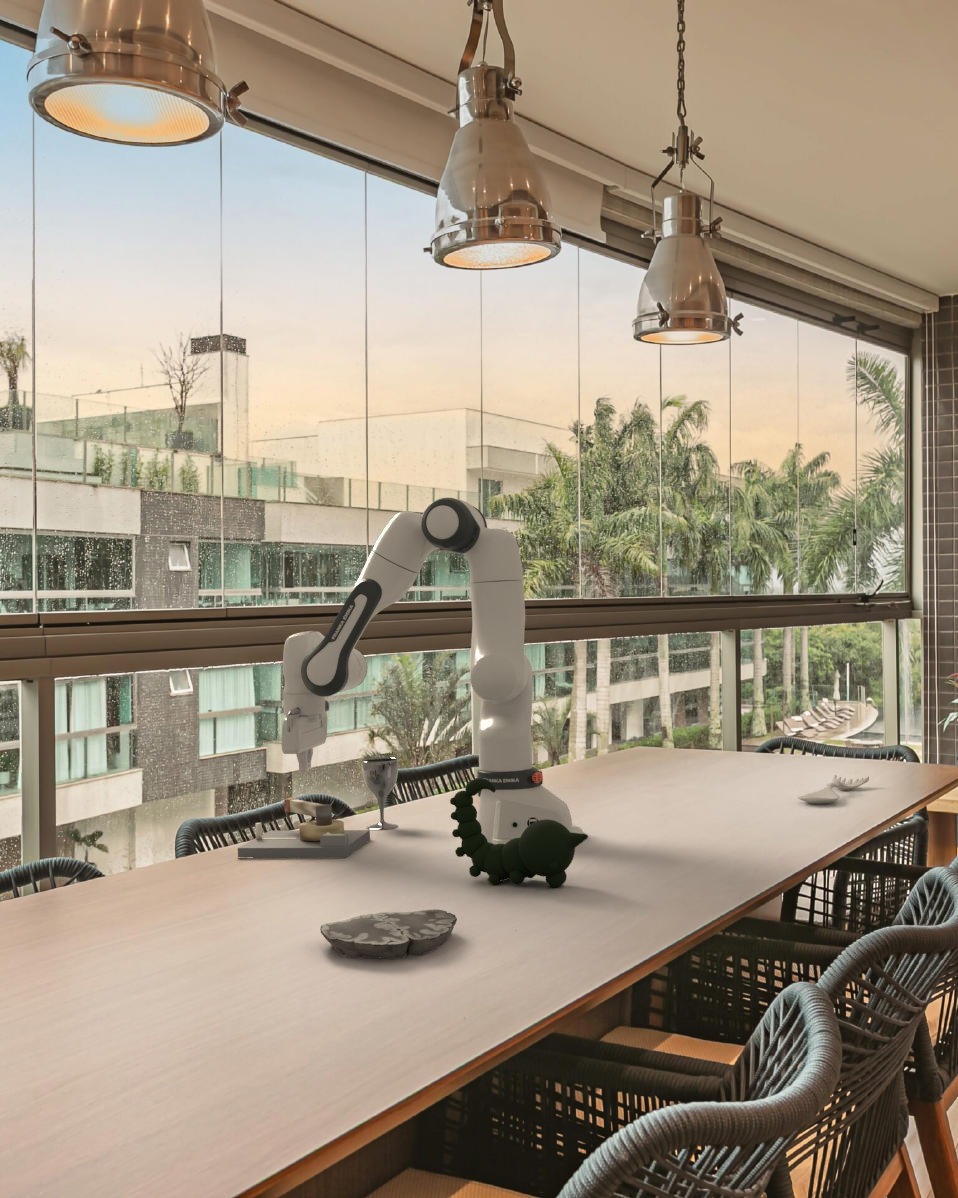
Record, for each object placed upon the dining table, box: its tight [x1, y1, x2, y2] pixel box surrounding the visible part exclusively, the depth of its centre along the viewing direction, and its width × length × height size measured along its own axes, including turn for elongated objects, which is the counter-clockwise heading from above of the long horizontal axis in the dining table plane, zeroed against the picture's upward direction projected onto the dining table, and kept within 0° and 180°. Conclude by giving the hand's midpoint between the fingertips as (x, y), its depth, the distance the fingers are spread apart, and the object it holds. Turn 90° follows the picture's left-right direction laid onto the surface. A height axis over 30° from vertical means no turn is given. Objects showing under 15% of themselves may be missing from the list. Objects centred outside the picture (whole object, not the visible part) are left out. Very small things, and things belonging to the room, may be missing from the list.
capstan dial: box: [283, 797, 345, 841], centre depth 233 cm, size 17×9×6 cm, turn 40°
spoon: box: [796, 774, 870, 805], centre depth 269 cm, size 9×32×4 cm, turn 145°
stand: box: [237, 822, 371, 859], centre depth 230 cm, size 22×18×5 cm
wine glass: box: [361, 756, 399, 831], centre depth 251 cm, size 8×8×15 cm
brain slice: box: [320, 909, 458, 960], centre depth 159 cm, size 20×17×3 cm
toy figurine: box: [449, 777, 589, 888], centre depth 193 cm, size 9×19×25 cm
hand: (305, 770), depth 244 cm, fingers closed
